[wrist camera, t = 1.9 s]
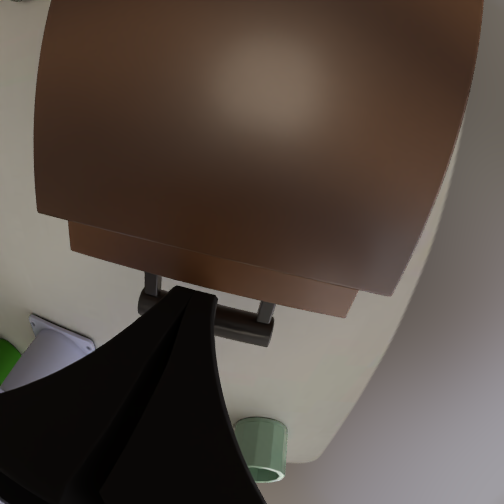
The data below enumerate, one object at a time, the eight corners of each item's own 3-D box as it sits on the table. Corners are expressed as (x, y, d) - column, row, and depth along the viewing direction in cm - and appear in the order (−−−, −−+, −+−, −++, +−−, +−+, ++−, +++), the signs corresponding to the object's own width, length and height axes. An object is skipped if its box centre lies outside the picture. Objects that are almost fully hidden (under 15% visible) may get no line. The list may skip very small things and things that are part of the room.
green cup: (279, 442, 29) (275, 485, 25) (231, 434, 29) (223, 477, 25) (293, 422, 27) (291, 470, 22) (239, 412, 27) (231, 462, 22)
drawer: (301, 292, 18) (301, 396, 12) (146, 255, 18) (86, 339, 12) (385, -5, 9) (453, -61, 3) (191, -40, 9) (125, -106, 3)
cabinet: (343, 191, 16) (391, 298, 8) (149, 148, 16) (36, 213, 8) (397, -34, 9) (479, -107, 1) (198, -71, 9) (127, -156, 1)
